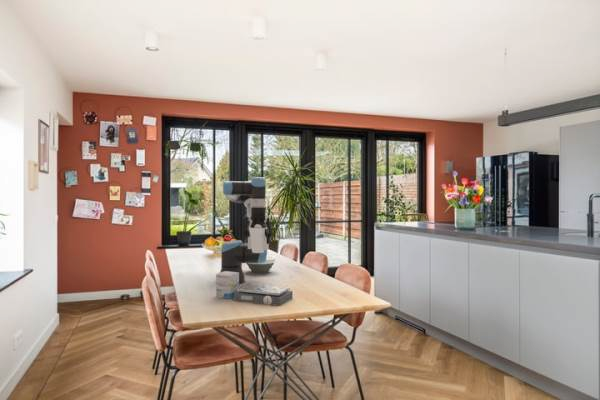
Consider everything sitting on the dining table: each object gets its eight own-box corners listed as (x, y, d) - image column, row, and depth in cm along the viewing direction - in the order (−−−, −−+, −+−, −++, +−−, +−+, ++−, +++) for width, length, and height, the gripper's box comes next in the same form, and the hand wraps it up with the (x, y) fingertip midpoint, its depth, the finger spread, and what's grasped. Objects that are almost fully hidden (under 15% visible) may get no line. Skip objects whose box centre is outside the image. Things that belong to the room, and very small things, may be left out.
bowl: (281, 271, 272) (281, 256, 272) (263, 276, 256) (263, 261, 256) (257, 268, 283) (257, 254, 283) (238, 273, 266) (238, 258, 266)
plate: (236, 290, 199) (236, 288, 199) (250, 285, 211) (250, 283, 211) (278, 295, 191) (278, 293, 191) (289, 289, 203) (289, 287, 203)
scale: (233, 301, 199) (233, 292, 198) (249, 294, 213) (249, 285, 213) (279, 306, 190) (279, 297, 190) (292, 298, 204) (292, 290, 204)
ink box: (239, 295, 209) (239, 272, 209) (229, 299, 201) (229, 275, 201) (225, 293, 212) (225, 270, 212) (215, 297, 205) (215, 273, 204)
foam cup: (267, 253, 215) (267, 228, 215) (249, 253, 214) (249, 228, 214) (266, 250, 225) (266, 226, 224) (248, 250, 223) (249, 226, 223)
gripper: (236, 206, 219) (236, 248, 220) (274, 207, 211) (273, 251, 212) (243, 206, 226) (243, 247, 227) (280, 207, 218) (280, 249, 219)
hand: (258, 249), depth 219 cm, fingers closed on foam cup, 9 cm apart
